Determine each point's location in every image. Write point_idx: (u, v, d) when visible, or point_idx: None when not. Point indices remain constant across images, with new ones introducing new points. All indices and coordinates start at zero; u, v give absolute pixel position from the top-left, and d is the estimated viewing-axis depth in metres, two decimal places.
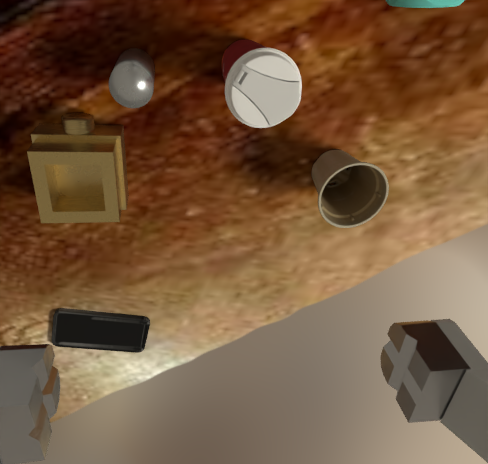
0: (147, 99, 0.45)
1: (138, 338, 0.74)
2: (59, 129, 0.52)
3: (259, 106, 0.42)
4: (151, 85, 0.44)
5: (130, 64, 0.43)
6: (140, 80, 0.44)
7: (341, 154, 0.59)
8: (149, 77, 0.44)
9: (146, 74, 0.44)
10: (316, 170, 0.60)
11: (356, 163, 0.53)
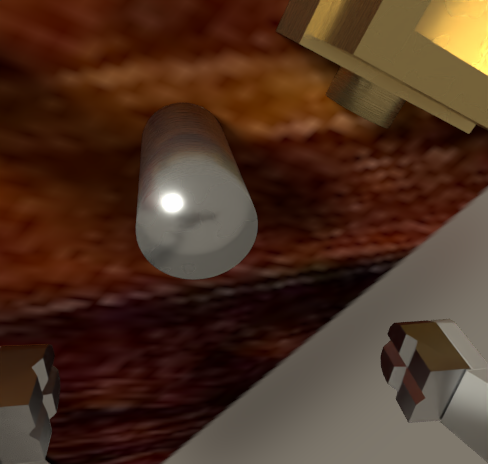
0: (170, 187, 0.15)
1: None
2: None
3: None
4: (142, 218, 0.15)
5: (175, 274, 0.17)
6: (167, 237, 0.16)
7: None
8: (139, 236, 0.15)
9: (144, 245, 0.16)
10: None
11: None
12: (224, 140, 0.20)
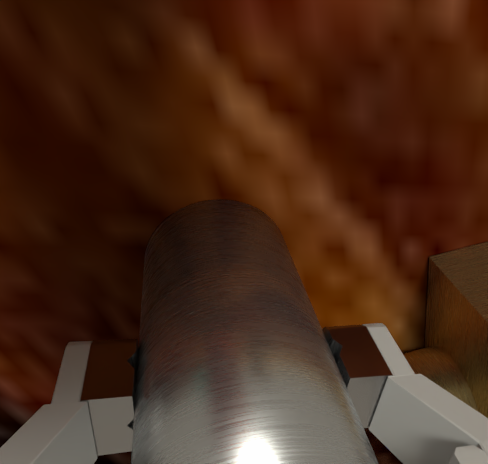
0: None
1: None
2: None
3: None
4: None
5: None
6: None
7: None
8: None
9: None
10: None
11: None
12: None
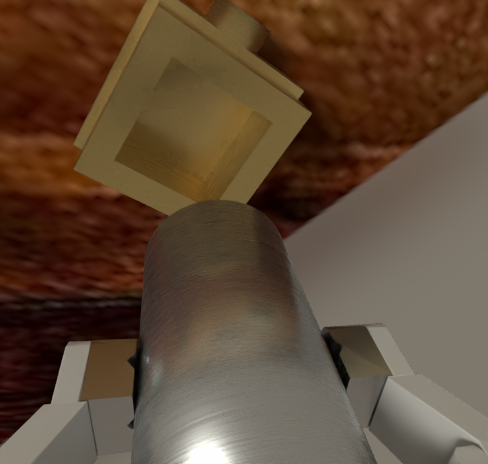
0: None
1: None
2: None
3: None
4: None
5: None
6: None
7: None
8: None
9: None
10: None
11: None
12: None
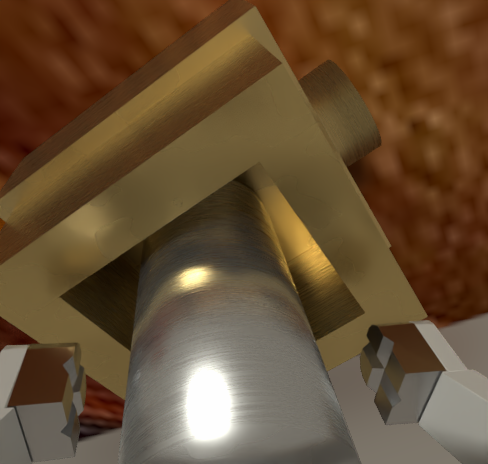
0: (299, 437, 0.07)
1: None
2: None
3: None
4: (203, 444, 0.06)
5: None
6: None
7: None
8: (156, 460, 0.07)
9: None
10: None
11: None
12: None
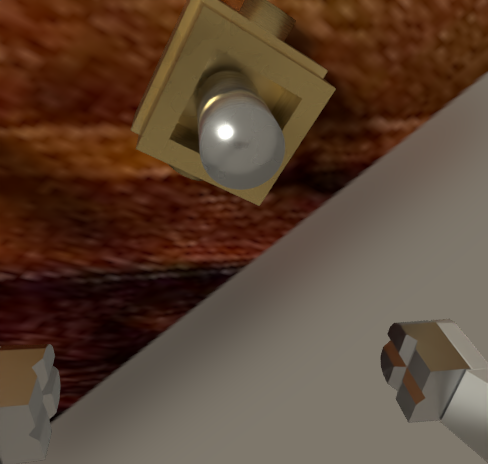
0: (243, 111, 0.21)
1: None
2: None
3: None
4: (215, 122, 0.21)
5: (210, 174, 0.23)
6: (221, 144, 0.22)
7: None
8: (205, 135, 0.21)
9: (204, 143, 0.22)
10: None
11: None
12: None
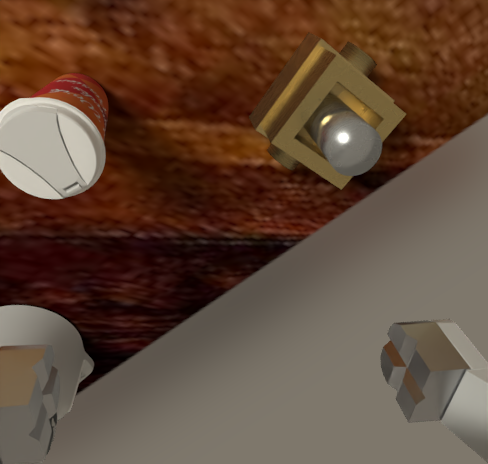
0: (363, 127, 0.34)
1: None
2: None
3: (62, 146, 0.30)
4: (344, 131, 0.34)
5: (331, 163, 0.35)
6: (344, 145, 0.35)
7: None
8: (336, 138, 0.34)
9: (334, 143, 0.34)
10: None
11: None
12: None
